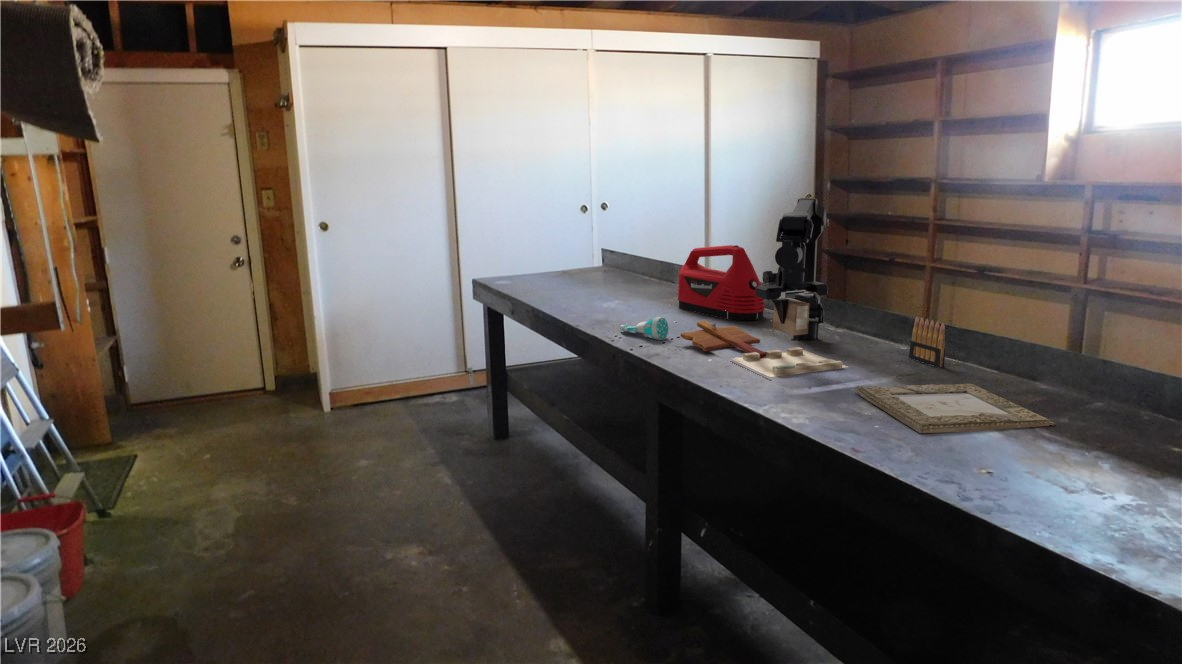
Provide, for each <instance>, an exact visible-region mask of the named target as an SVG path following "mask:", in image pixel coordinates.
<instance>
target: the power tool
mask: <svg viewBox="0 0 1182 664" xmlns="http://www.w3.org/2000/svg"><path fill="white" fill-rule="evenodd" d="M719 256H720V257H721V256H732V260H731V261H732V262H731V265H730V266H729V267H728V268H727V270H726V271H725V270H720V269H715V268H707V267H706V266H703V265H702V264H700V263H699V260H700V258H707V257H719ZM753 265H754V264H753V263H752V261H751V259H750V257H749V255H748V253H747V251H746V250H745V248H744V247H740V246H739V245H732V244H730V245H717V246H706V247H694V248H693V249H692V250H690V252H689V255H688V256H687V259H686V260H685V263H684V264H683V265H682V266H681V267H680V269H679V272H678V286H677V288H678V290H677V291H678V292H677V300H678V308H679V309H680V308H682V309H681V310H685V309H687V310H686V311H689V310H691V311H690V312H693V311H696V312H695V313H697V312H700V313H699V314H701V313H704V314H703V315H706V314H708V315H707V316H710V315H713V316H712V317H714V316H717V317H716V318H719V317H722V318H721V319H723V318H726V319H725V320H728V319H730V320H729V321H733V320H738V321H740V320H742V321H747V320H749V321H758V320H761V319H763V318H762V317H764V310H765V299H763V298H760V297H756V296H755V295H756V289H757V287H758V286H762V285H761V281H760V279H759V276H758V274H757V271H756V270H755V267H754V266H753ZM725 310H726V311H725ZM757 319H758V320H757ZM742 321H741V322H742Z"/></svg>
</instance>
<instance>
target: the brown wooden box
mask: <svg viewBox="0 0 1182 664" xmlns="http://www.w3.org/2000/svg"><path fill="white" fill-rule="evenodd" d="M785 299H789V301H788V307H787V314H786V319H785V323H784V324H782V323H781V322H780V319H779V316H778V313H777V310H776V307H775V305H774V304H773V318H772V319H773V320H772V329H773V330H776V331H779V332H782V333H784V334H788V335H791V336H793V335H802V334H808V322H809V304H810V303H806V302H802V301H799V300H795V299H794V298H790V297H785Z"/></svg>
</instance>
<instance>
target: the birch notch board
mask: <svg viewBox="0 0 1182 664" xmlns="http://www.w3.org/2000/svg"><path fill="white" fill-rule="evenodd" d="M764 352H766V356H765V357H762V358H760V354H759V353H757V352H753V353H746V352H744V353H742V357H734V358H732V357H731V360H729V361H730V363H731V362H732V363H731V364H733V363H734V364H733V365H735V364H736V365H735V366H737V365H738V366H737V367H739V366H740V368H741V367H742V368H741V369H743V368H745V369H744V370H746V369H747V370H746V371H748V370H749V371H748V372H750V371H751V372H750V373H752V372H753V373H752V374H754V373H755V374H754V375H756V374H757V375H756V376H758V375H759V377H760V376H762V377H761V378H763V379H765V380H767V381H769V382H773V381H772V379H770V378H774V377H776V378H777V377H782V376H783V377H784V376H789V375H797V374H798V375H799V374H800V375H801V374H806V373H812V372H813V373H814V372H815V373H816V372H821V371H831V370H838V369H846V368H849V366H848V365H845V364H843V361H841V360H835V359H832V358H830V359H829V358H826V357H824V356H822V355H818V354H816V353H813V352H810V351H808V350H805V349H804V348H802V347H799V346H798V347H790V348H786V352H783V351H782V350H780V349H771V350H765V351H764ZM742 365H743V366H742ZM744 366H745V367H744ZM748 368H749V369H748ZM757 372H758V373H757ZM766 376H767V377H766Z"/></svg>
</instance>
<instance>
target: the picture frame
mask: <svg viewBox="0 0 1182 664" xmlns="http://www.w3.org/2000/svg"><path fill="white" fill-rule="evenodd" d="M854 390H855V393H856V394H858V395H859V396H860V397H861V398H863V399H865V400H866V401H868V402H869V403H870V404H872V405H875V406H876V407H878V408H879V409H881V410H882V411H884V412H886V413H887V414H889V415H890V416H892V417H893V418H895V419H897V420H898V421H900V422H901V423H903V424H904V425H906V426H908V427H909V428H911V429H913V430H915V432H917V433H919V434H939V433H940V434H942V433H958V432H959V433H962V432H977V431H990V430H991V431H992V430H1006V429H1007V430H1008V429H1021V428H1035V427H1037V428H1038V427H1048V426H1049V425H1052V426H1056V422H1053V420H1051V419H1048V418H1047V417H1044V416H1043V415H1040V414H1038V413H1035V412H1033V411H1031V410H1029V409H1028V408H1025V407H1023V406H1022V405H1020V404H1017V403H1014V402H1013V401H1010V400H1008V399H1006V398H1004V397H1002V396H1000V395H999V396H998V395H997V394H996V393H995V394H994V393H993V392H991V391H990V390H986V389H984V388H983V387H980V386H979V385H978V386H977V385H976V384H974V383H956V384H953V383H952V384H950V383H949V384H936V383H935V384H933V383H931V384H926V385H925V384H909V385H907V384H905V385H898V384H894V385H875V386H868V385H867V386H855V387H854Z"/></svg>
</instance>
